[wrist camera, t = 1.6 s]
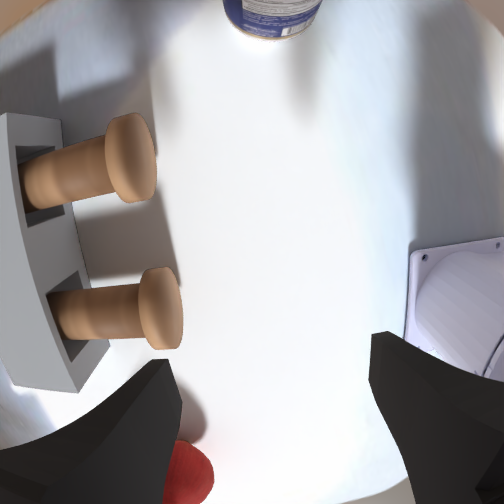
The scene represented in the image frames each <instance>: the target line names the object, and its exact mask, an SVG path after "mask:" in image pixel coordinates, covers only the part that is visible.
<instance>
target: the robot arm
mask: <svg viewBox="0 0 504 504" xmlns="http://www.w3.org/2000/svg"><path fill="white" fill-rule="evenodd" d="M496 244H497V246H496ZM423 255H426V257H425V259H424V260H422V256H423ZM417 346H418V347H417ZM431 350H435V351H436V352H437V353H438V354H439V355H440V357H441V358H442V359H443V360H444V361H445V362H444V361H442V360H440V359H438V358H436V357H434V356H432V355H430V354H428V353H426V352H427V351H431ZM368 380H369V383H370V386H371V389H372V393H373V395H374V398H375V401H376V404H377V406H378V408H379V410H380V412H381V414H382V416H383V418H384V420H385V422H386V424H387V426H388V428H389V430H390V432H391V434H392V436H393V438H394V440H395V442H396V444H397V446H398V448H399V451H400V453H401V455H402V458H403V461H404V464H405V467H406V470H407V473H408V476H409V480H410V483H411V487H412V490H413V494H414V498H415V502H416V504H504V237H498V238H492V239H486V240H479V241H473V242H467V243H461V244H454V245H448V246H441V247H435V248H428V249H421V250H416V251H414V252H413V253H412V254H411V256H410V274H409V294H408V309H407V321H406V331H405V340H404V339H402V338H400V337H398V336H397V335H395V334H393V333H391V332H389V331H385V332H381V333H376V334H372V337H371V354H370V367H369V379H368ZM181 409H182V400H181V397H180V394H179V391H178V388H177V385H176V382H175V379H174V376H173V373H172V370H171V367H170V363H169V360H168V359H152V360H151V361H149V362H148V363H147V364H146V365H145V366H143V367H142V368H141V369H140V370H139V371H138V372H137V373H136V374H134V375H133V376H132V377H131V378H130V379H129V380H128V381H127V382H126V383H124V384H123V385H122V386H121V387H120V388H119V389H118V390H116V391H115V392H114V393H113V394H112V395H110V396H109V397H108V398H107V399H105V400H104V401H103V402H101V403H100V404H99V405H98V406H96V407H95V408H94V409H92V410H91V411H89V412H88V413H86V414H85V415H83V416H82V417H80V418H79V419H77V420H75V421H74V422H72V423H70V424H68V425H67V426H65V427H63V428H61V429H59V430H57V431H55V432H53V433H51V434H49V435H46V436H44V437H42V438H39V439H37V440H34V441H31V442H28V443H25V444H22V445H19V446H15V447H11V448H7V449H3V450H0V504H162V502H163V494H164V486H165V480H166V475H167V471H168V467H169V464H170V460H171V456H172V453H173V449H174V445H175V441H176V438H177V434H178V430H179V426H180V418H181Z"/></svg>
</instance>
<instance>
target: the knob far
mask: <svg viewBox="0 0 504 504" xmlns="http://www.w3.org/2000/svg"><path fill="white" fill-rule="evenodd" d="M46 299H47V302H48V305H49V308H50V310H51V313H52V316H53V319H54V322H55V324H56V327H57V330H58V332H59V335H60V338H61V340H92V339H126V338H146V339H147V341H148V343H149V344H150V346H151V347H152V348H154V349H156V350H164V349H176V348H178V347H179V345H180V343H181V340H182V335H183V308H182V300H181V295H180V290H179V286H178V283H177V280H176V277H175V275H174V273H173V272H172V270H171V269H170V268H168V267H162V268H154V269H148V270H146V271H145V272H144V273H143V275H142V278H141V281H140V283H137V284H128V285H118V286H108V287H99V288H89V289H79V290H68V291H58V292H50V293H48V294H47V295H46Z"/></svg>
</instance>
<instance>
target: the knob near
mask: <svg viewBox="0 0 504 504" xmlns="http://www.w3.org/2000/svg"><path fill="white" fill-rule="evenodd" d="M17 168H18V176H19V183H20V190H21V196H22V202H23V208H24V213H25V214H28V213H32V212H35V211H39V210H43V209H46V208H50V207H54V206H58V205H62V204H66V203H70V202H74V201H78V200H82V199H86V198H91V197H95V196H99V195H104V194H108V193H113V192H116V193H117V195H118V196H119V197H120V198H121V200H123V201H124V202H126V203H133V202H139V201H144V200H149V199H151V198H152V197H153V195H154V192H155V189H156V181H157V166H156V157H155V150H154V145H153V141H152V137H151V134H150V131H149V129H148V126H147V124H146V122H145V120H144V119H143V117H142V116H141V115H140V114H138V113H132V114H128V115H124V116H120V117H117V118H114V119H112V121H111V122H110V123H109V125H108V128H107V131H106V135H103V136H99V137H96V138H92V139H89V140H86V141H83V142H79V143H76V144H73V145H70V146H67V147H64V148H61V149H58V150H55V151H52V152H49V153H47V154H44V155H41V156H38V157H36V158H33V159H30V160H28V161H25V162H23V163H20V164H18V165H17Z"/></svg>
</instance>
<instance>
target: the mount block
mask: <svg viewBox="0 0 504 504" xmlns="http://www.w3.org/2000/svg"><path fill="white" fill-rule="evenodd" d="M61 148H63V139H62V129H61V120H60V119H53V118H46V117H40V116H32V115H25V114H17V113H8V112H6V113H4V114H2V115H0V358H1V360H2V362H3V364H4V366H5V368H6V370H7V372H8V374H9V376H10V378H11V380H12V382H13V384H14V385H15V386H21V387H28V388H35V389H42V390H50V391H59V392H69V393H79V392H80V390H81V389H82V387H83V386H84V384H85V383H86V381H87V380H88V378H89V377H90V375H91V374H92V372H93V371H94V369H95V368H96V366H97V365H98V363H99V362H100V360H101V359H102V357H103V356H104V354H105V353H106V352H107V350H108V349H109V347H110V344H109V341H108V339H92V340H61V338H60V335H59V332H58V330H57V327H56V324H55V322H54V319H53V316H52V313H51V310H50V308H49V305H48V302H47V299H46V295H47V294H48V293H50V292H58V291H68V290H79V289H89V288H91V285H90V282H89V278H88V274H87V271H86V267H85V263H84V259H83V255H82V251H81V247H80V242H79V238H78V233H77V229H76V224H75V219H74V214H73V209H72V203H71V202H70V203H66V204H62V205H58V206H54V207H50V208H46V209H43V210H39V211H35V212H32V213H28V214H25V213H24V208H23V202H22V196H21V190H20V183H19V176H18V168H17V165H18V164H20V163H23V162H25V161H28V160H30V159H33V158H36V157H38V156H41V155H44V154H47V153H49V152H52V151H55V150H58V149H61Z"/></svg>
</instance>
